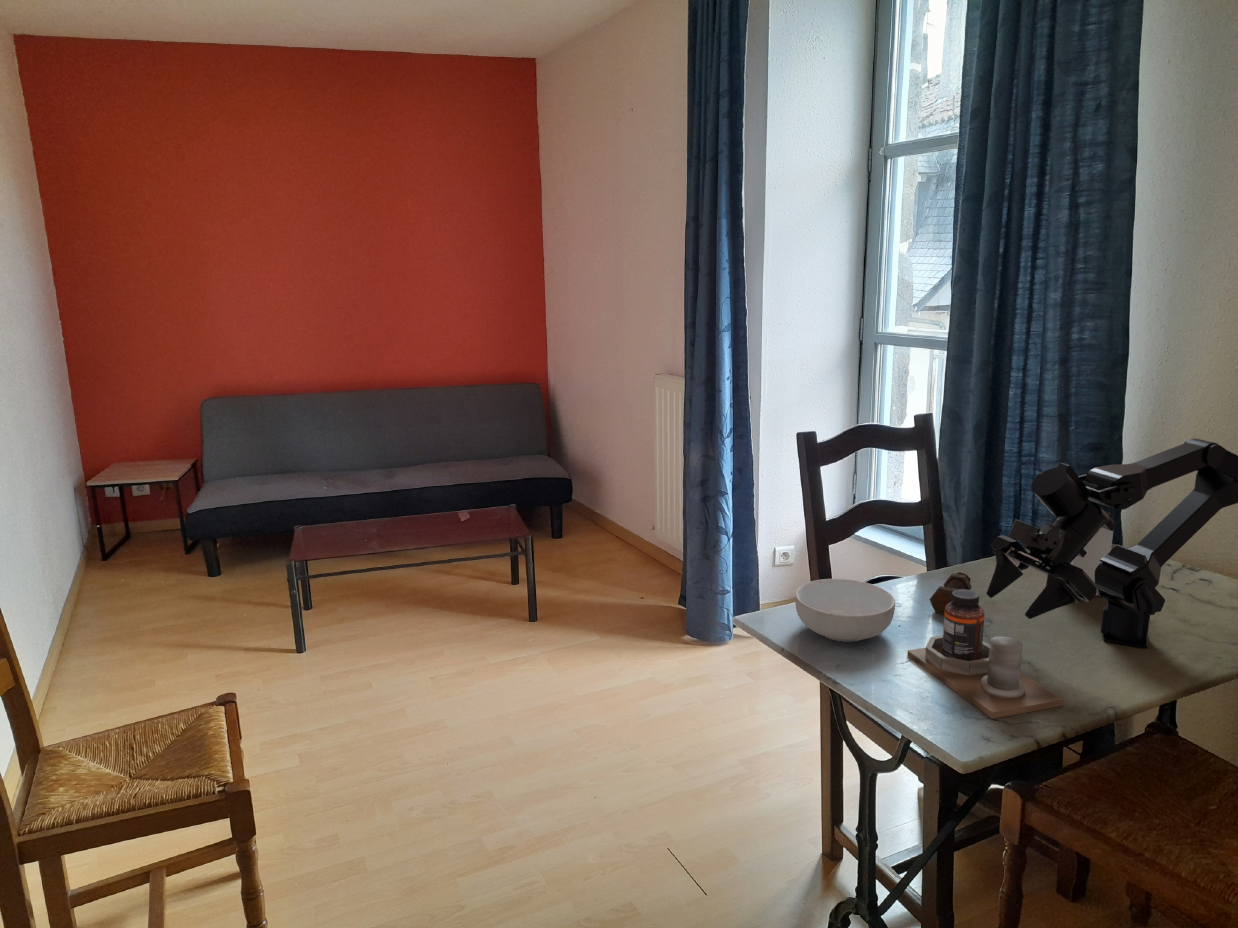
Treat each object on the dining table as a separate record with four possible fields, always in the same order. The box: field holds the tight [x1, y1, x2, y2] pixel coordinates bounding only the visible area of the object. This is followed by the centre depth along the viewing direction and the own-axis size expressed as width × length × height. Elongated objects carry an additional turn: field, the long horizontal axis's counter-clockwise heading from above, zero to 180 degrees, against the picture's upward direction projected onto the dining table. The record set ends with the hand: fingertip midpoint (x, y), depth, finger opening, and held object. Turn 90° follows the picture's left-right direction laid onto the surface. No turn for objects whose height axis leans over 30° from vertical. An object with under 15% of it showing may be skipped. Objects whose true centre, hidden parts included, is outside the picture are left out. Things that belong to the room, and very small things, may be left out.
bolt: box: [929, 572, 973, 616], centre depth 166 cm, size 6×5×15 cm
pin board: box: [906, 634, 1064, 720], centre depth 135 cm, size 21×12×8 cm, turn 15°
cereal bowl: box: [794, 578, 896, 643], centre depth 153 cm, size 17×17×7 cm
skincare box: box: [1070, 528, 1114, 597], centre depth 167 cm, size 8×6×15 cm
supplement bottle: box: [942, 589, 985, 661], centre depth 139 cm, size 6×6×11 cm
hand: (1007, 606), depth 141 cm, fingers open, 9 cm apart
